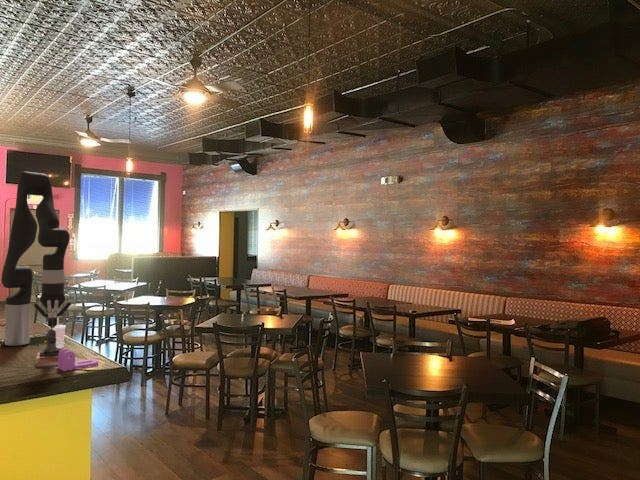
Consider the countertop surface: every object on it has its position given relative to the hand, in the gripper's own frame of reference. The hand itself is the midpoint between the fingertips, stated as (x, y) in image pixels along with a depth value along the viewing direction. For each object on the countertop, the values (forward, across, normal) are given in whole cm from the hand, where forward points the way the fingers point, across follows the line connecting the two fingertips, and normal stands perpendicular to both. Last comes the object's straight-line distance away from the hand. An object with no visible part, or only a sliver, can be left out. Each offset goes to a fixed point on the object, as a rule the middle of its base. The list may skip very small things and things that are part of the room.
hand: (52, 327), depth 192 cm
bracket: (+13, -9, +10) cm, 19 cm away
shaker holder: (+13, 0, 0) cm, 13 cm away
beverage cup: (+13, -2, -24) cm, 27 cm away
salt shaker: (+12, 0, 0) cm, 12 cm away
